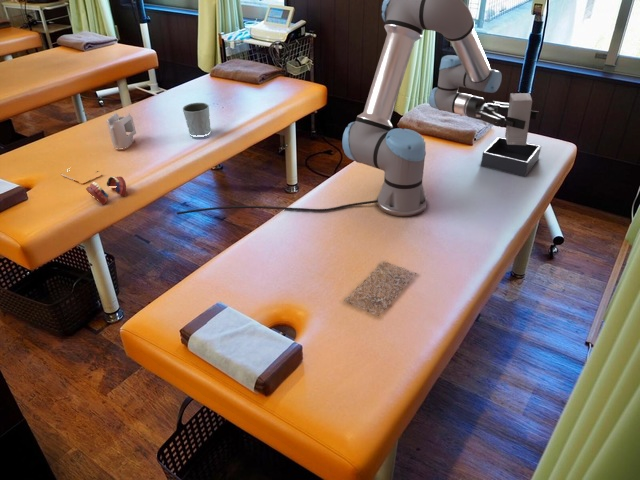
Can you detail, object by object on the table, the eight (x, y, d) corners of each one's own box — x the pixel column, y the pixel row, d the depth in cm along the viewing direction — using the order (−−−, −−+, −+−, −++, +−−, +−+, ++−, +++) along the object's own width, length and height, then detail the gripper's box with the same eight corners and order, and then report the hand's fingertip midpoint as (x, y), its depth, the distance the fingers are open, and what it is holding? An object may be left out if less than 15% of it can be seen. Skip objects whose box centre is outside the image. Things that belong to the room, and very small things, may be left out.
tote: (524, 176, 182) (528, 162, 179) (480, 166, 189) (482, 152, 186) (538, 159, 192) (541, 146, 189) (495, 150, 200) (498, 136, 196)
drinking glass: (217, 133, 219) (213, 105, 212) (200, 142, 212) (196, 113, 205) (199, 128, 224) (195, 100, 217) (182, 137, 217) (177, 108, 210)
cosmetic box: (526, 146, 182) (535, 101, 173) (504, 145, 183) (512, 100, 174) (523, 136, 188) (532, 92, 179) (502, 135, 190) (510, 91, 181)
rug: (343, 302, 130) (343, 299, 130) (383, 262, 143) (383, 259, 143) (378, 317, 126) (378, 314, 125) (416, 274, 139) (416, 271, 138)
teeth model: (126, 176, 175) (92, 190, 168) (131, 193, 179) (97, 207, 172) (114, 169, 180) (80, 182, 174) (119, 186, 184) (86, 199, 177)
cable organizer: (139, 139, 216) (132, 111, 209) (124, 152, 206) (117, 123, 199) (124, 138, 217) (117, 110, 210) (108, 151, 207) (100, 122, 200)
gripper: (482, 107, 200) (541, 120, 188) (453, 125, 186) (514, 141, 174) (485, 87, 195) (546, 100, 183) (455, 105, 182) (519, 120, 170)
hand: (530, 120), depth 179 cm, fingers closed on cosmetic box, 10 cm apart
